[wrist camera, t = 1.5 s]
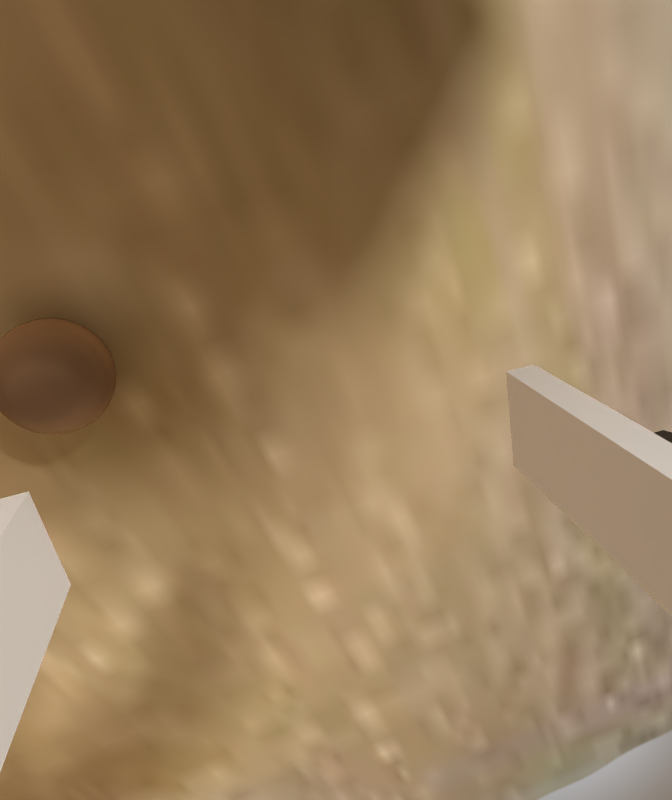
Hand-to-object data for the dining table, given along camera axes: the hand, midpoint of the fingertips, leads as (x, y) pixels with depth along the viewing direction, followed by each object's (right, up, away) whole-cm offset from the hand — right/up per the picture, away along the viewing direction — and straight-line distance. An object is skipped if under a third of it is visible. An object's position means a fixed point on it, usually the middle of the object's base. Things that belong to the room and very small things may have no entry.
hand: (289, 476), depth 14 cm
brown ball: (-12, +3, +13) cm, 18 cm away
